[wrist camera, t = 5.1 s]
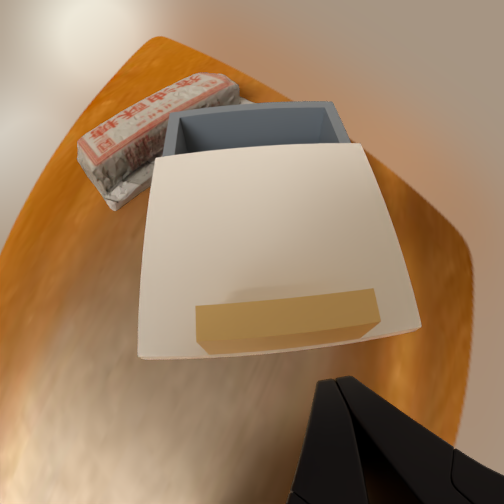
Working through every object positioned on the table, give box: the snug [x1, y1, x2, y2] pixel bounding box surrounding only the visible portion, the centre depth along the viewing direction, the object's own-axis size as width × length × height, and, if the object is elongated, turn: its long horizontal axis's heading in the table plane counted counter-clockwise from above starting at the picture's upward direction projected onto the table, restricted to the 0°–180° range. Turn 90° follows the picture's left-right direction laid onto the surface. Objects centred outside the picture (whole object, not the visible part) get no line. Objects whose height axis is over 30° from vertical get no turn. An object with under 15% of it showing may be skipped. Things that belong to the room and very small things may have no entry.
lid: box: [137, 143, 422, 360], centre depth 14 cm, size 11×12×3 cm
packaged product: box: [77, 72, 253, 211], centre depth 28 cm, size 18×5×10 cm
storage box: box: [162, 101, 351, 157], centre depth 21 cm, size 11×12×7 cm
